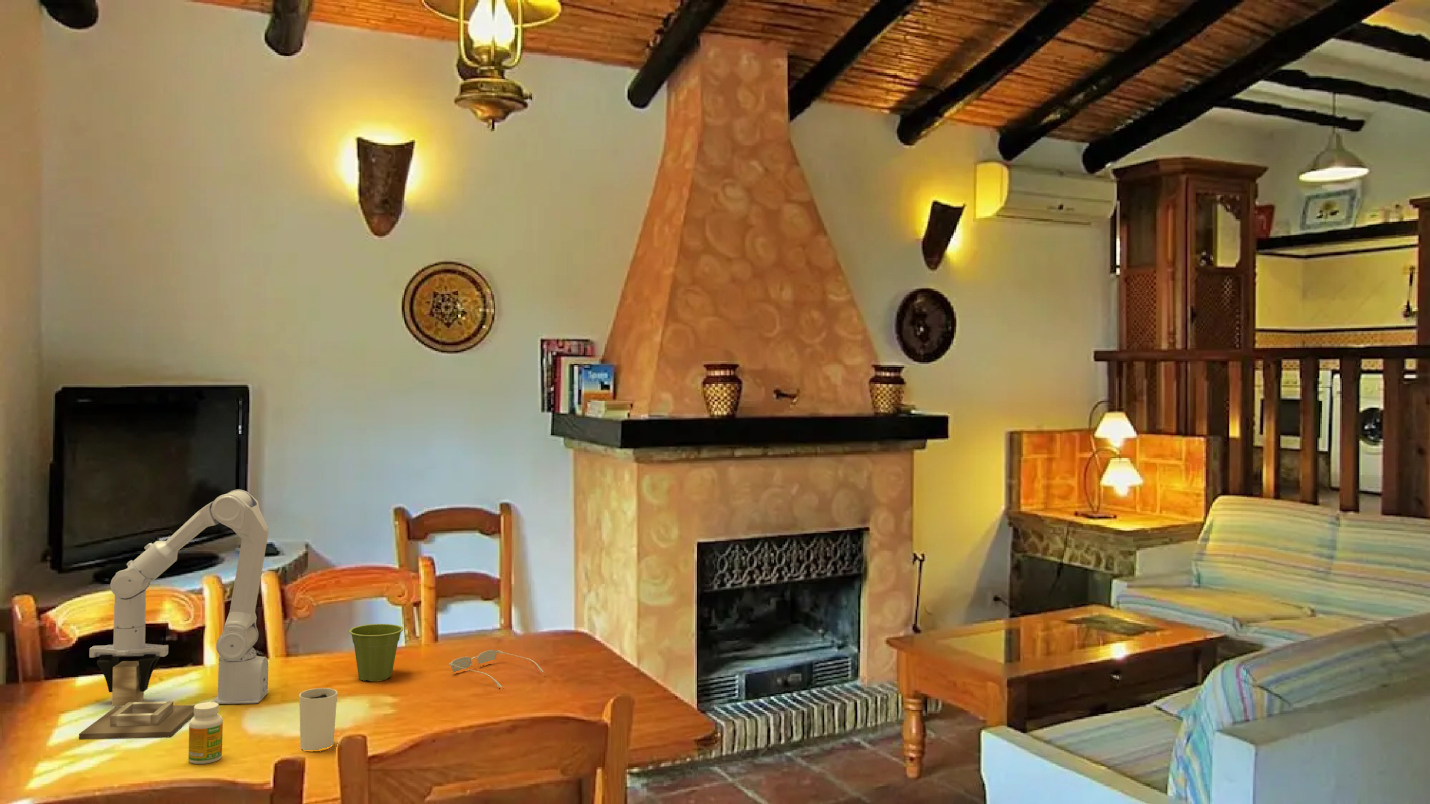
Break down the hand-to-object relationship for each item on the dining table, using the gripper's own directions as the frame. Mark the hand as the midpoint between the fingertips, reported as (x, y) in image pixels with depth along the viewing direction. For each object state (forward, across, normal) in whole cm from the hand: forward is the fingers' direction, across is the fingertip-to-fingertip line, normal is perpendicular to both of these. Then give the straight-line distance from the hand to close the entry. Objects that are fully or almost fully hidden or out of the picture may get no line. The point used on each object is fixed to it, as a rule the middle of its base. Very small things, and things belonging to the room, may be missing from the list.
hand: (128, 690), depth 210 cm
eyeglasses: (+3, +75, +15) cm, 76 cm away
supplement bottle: (+3, +26, -34) cm, 43 cm away
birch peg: (+2, 0, 0) cm, 2 cm away
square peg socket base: (+2, +8, -14) cm, 16 cm away
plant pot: (+3, +47, +15) cm, 49 cm away
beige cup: (+3, +44, -29) cm, 53 cm away
